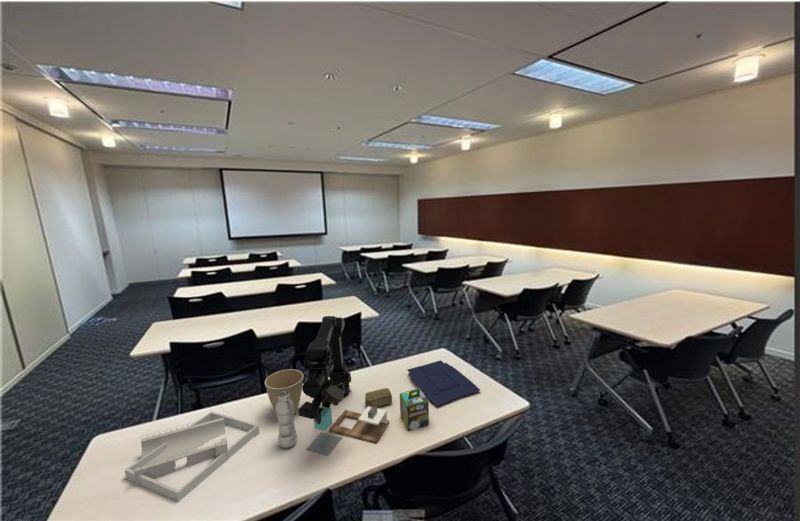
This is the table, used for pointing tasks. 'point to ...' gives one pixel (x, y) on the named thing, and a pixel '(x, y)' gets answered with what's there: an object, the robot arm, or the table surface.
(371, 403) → the stone block
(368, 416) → the cover
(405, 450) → the table surface
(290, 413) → the plastic bottle
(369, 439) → the brown wooden board
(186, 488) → the organizer tray
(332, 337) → the robot arm
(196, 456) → the skate ramp
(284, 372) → the plant pot
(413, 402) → the chalk box
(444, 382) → the navy folded cloth
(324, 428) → the teal block
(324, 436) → the slate mat
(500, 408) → the table surface
